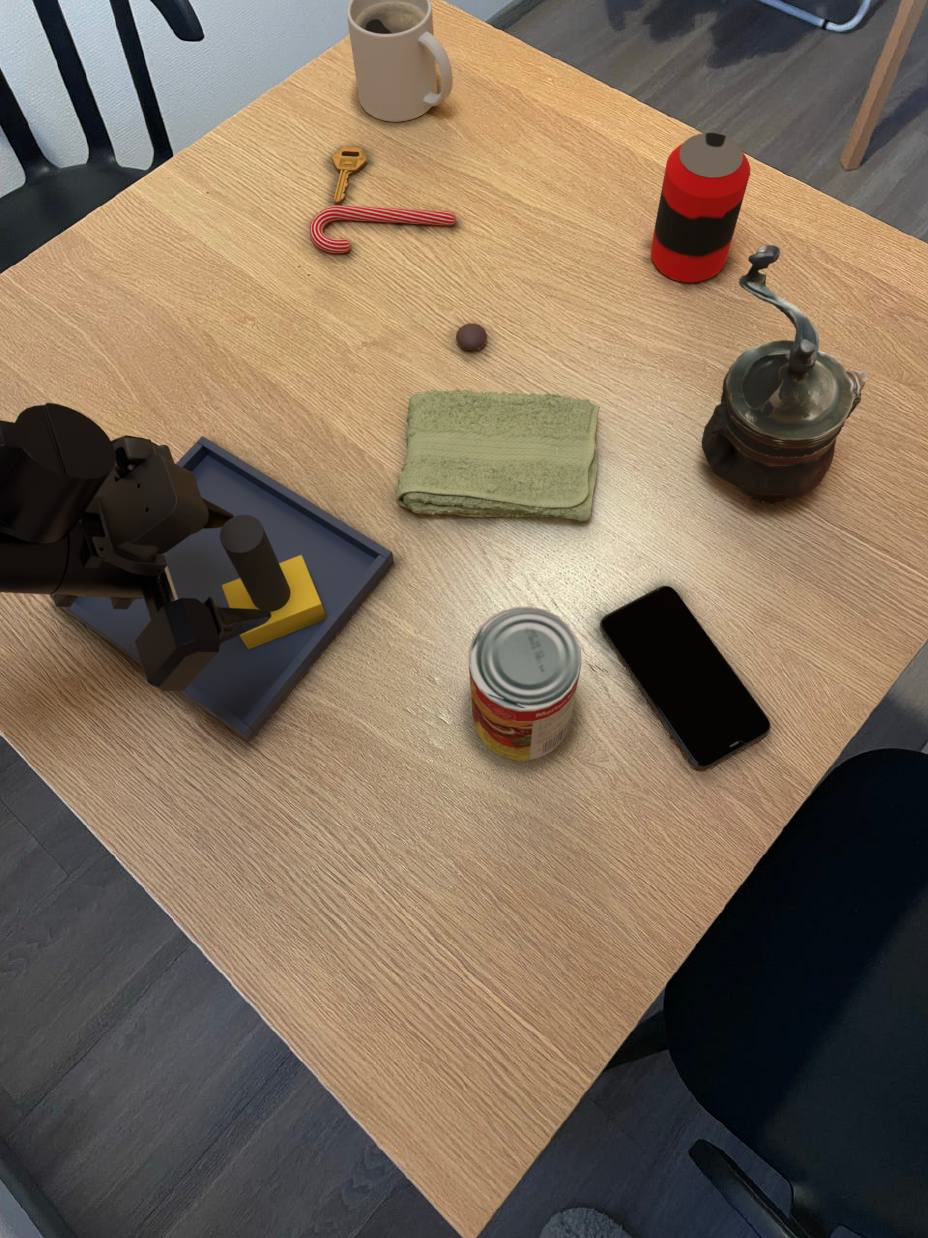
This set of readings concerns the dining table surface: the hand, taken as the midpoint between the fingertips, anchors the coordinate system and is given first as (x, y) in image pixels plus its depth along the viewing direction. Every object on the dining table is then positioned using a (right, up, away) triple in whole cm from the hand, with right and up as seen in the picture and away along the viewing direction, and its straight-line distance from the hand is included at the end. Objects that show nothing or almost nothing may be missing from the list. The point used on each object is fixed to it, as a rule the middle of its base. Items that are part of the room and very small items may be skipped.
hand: (250, 568), depth 75 cm
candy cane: (+8, +36, +26) cm, 46 cm away
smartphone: (+34, -9, +4) cm, 36 cm away
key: (+4, +43, +29) cm, 53 cm away
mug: (+10, +54, +34) cm, 65 cm away
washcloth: (+20, +10, +14) cm, 26 cm away
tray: (-4, -1, +9) cm, 10 cm away
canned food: (+21, -12, +4) cm, 24 cm away
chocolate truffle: (+17, +23, +20) cm, 35 cm away
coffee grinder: (+42, +11, +13) cm, 45 cm away
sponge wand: (+1, -3, +7) cm, 8 cm away
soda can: (+39, +33, +23) cm, 56 cm away
